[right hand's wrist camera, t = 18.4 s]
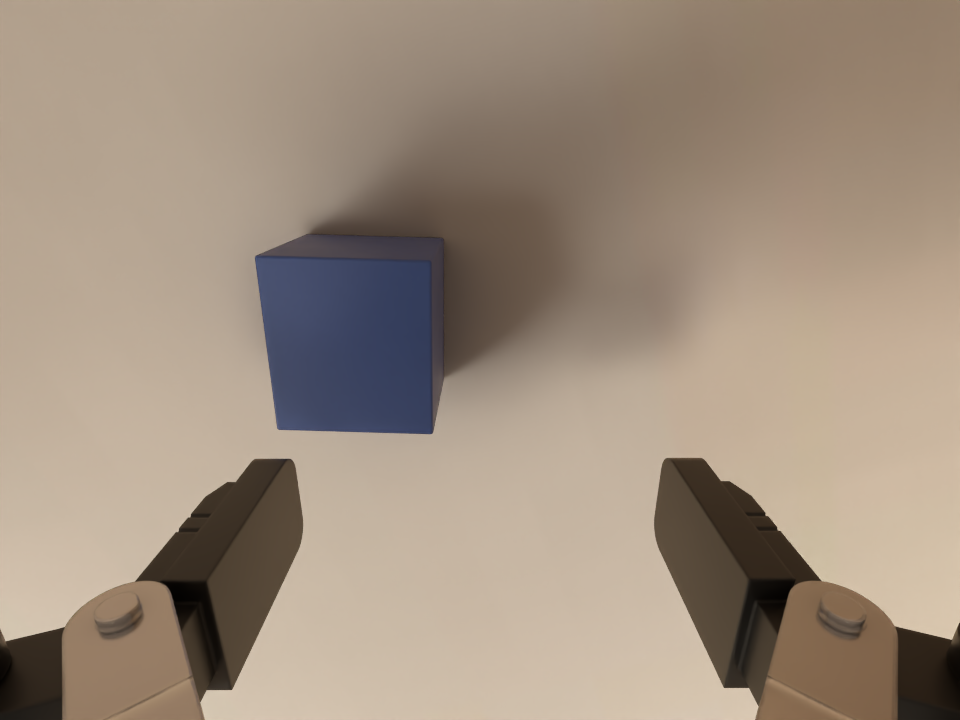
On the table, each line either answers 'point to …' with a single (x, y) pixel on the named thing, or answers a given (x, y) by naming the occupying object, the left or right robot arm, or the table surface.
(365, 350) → the block
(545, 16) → the table surface
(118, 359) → the table surface
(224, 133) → the table surface
